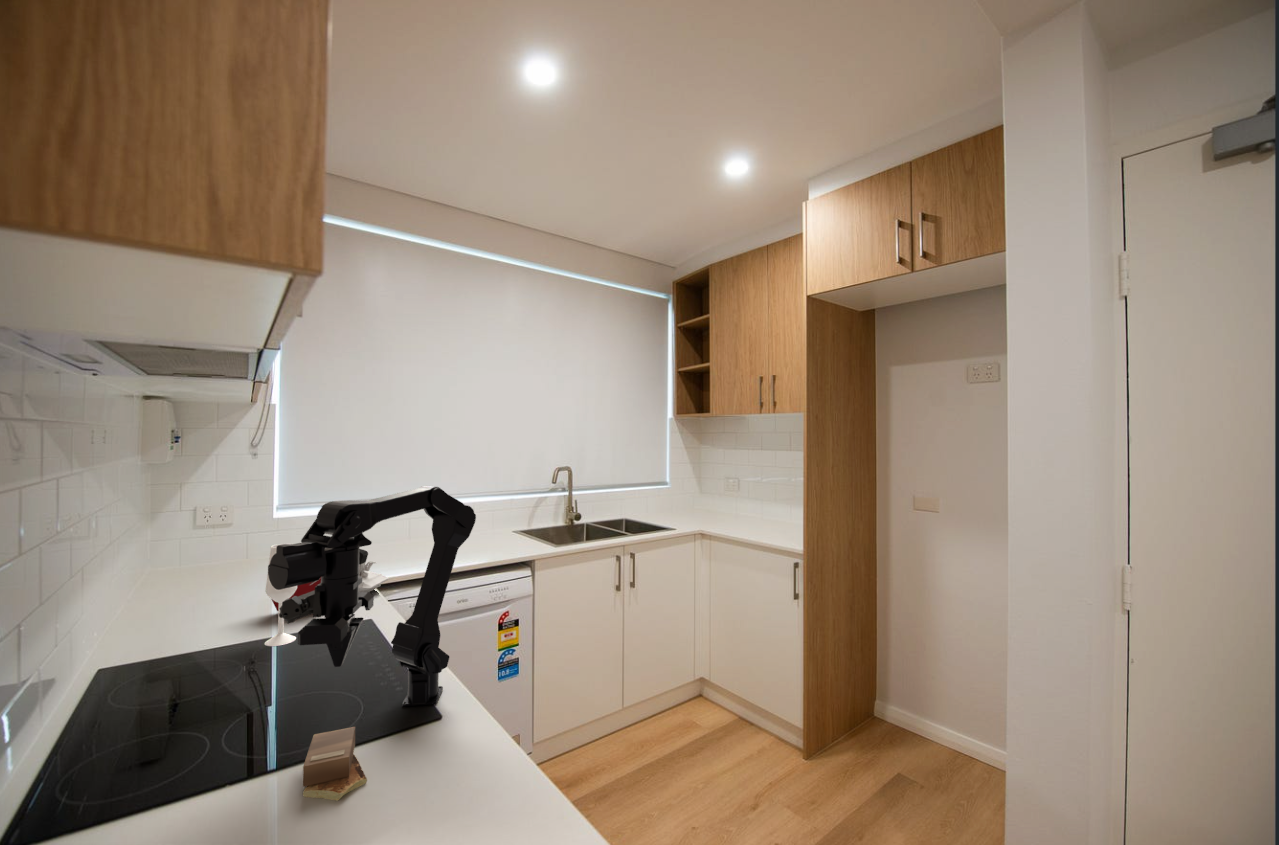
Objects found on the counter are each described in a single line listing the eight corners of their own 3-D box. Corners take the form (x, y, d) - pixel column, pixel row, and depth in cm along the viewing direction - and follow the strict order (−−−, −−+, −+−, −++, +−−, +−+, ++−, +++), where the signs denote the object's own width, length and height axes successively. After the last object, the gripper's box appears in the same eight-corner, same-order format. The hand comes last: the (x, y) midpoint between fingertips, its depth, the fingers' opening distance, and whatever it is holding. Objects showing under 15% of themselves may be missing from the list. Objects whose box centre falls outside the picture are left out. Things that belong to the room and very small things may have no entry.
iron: (371, 599, 169) (372, 551, 169) (299, 596, 171) (299, 549, 171) (390, 588, 180) (390, 544, 180) (321, 586, 182) (322, 542, 182)
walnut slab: (313, 733, 88) (303, 765, 79) (355, 725, 90) (349, 755, 82) (313, 752, 88) (303, 786, 79) (355, 744, 90) (349, 776, 82)
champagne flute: (302, 635, 139) (303, 542, 139) (285, 646, 132) (286, 548, 133) (276, 635, 139) (277, 542, 139) (258, 646, 132) (259, 548, 133)
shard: (349, 755, 90) (349, 744, 90) (392, 760, 89) (392, 749, 89) (300, 800, 79) (300, 788, 79) (347, 806, 78) (348, 793, 78)
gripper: (311, 563, 101) (309, 647, 100) (261, 593, 82) (259, 696, 82) (375, 561, 103) (373, 643, 102) (340, 590, 84) (338, 690, 84)
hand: (338, 665), depth 93 cm, fingers closed
